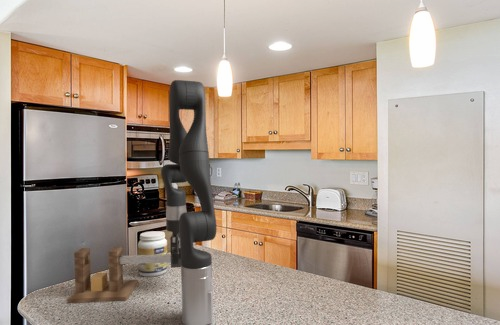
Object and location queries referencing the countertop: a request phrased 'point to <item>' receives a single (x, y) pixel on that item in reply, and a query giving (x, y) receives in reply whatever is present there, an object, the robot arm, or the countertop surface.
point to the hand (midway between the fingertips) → (177, 260)
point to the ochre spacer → (99, 282)
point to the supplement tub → (152, 252)
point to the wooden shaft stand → (116, 284)
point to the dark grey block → (149, 259)
